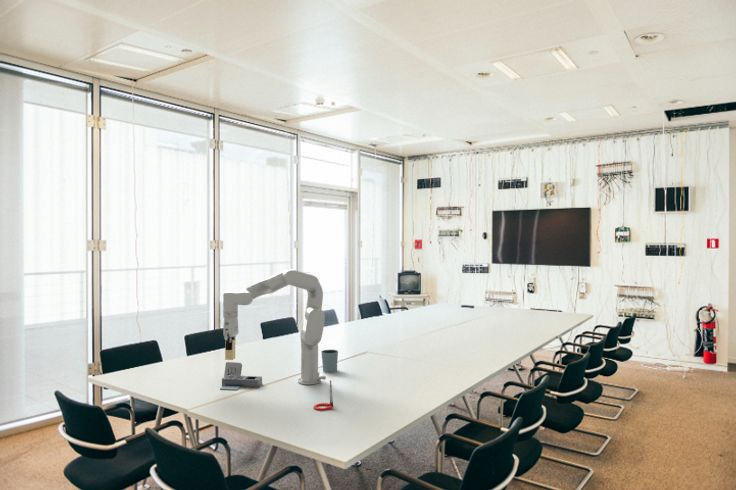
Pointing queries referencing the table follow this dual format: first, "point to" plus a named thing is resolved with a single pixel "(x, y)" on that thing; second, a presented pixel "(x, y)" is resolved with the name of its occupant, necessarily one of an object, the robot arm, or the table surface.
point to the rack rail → (242, 381)
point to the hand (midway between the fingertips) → (230, 348)
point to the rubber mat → (230, 388)
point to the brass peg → (230, 351)
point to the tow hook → (330, 405)
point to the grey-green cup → (329, 360)
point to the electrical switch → (233, 369)
